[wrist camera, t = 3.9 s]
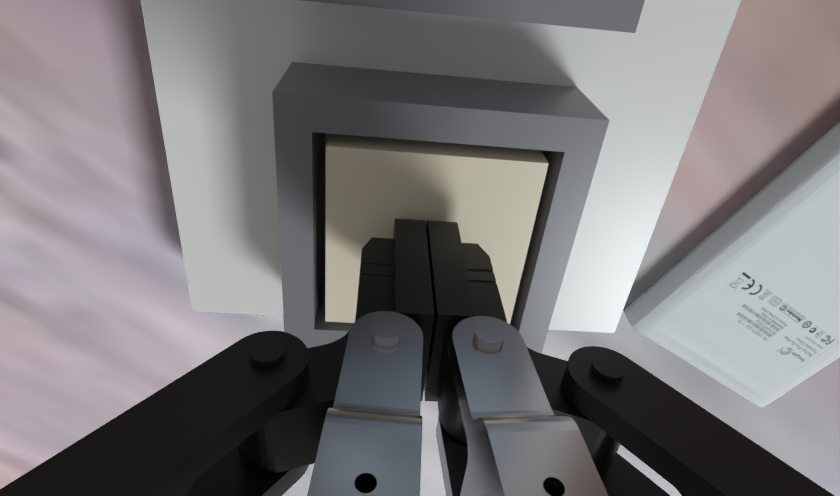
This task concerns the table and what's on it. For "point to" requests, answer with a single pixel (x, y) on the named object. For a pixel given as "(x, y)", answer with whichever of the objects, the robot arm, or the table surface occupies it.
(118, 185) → the table surface
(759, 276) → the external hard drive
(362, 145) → the button one
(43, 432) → the table surface
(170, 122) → the button panel
